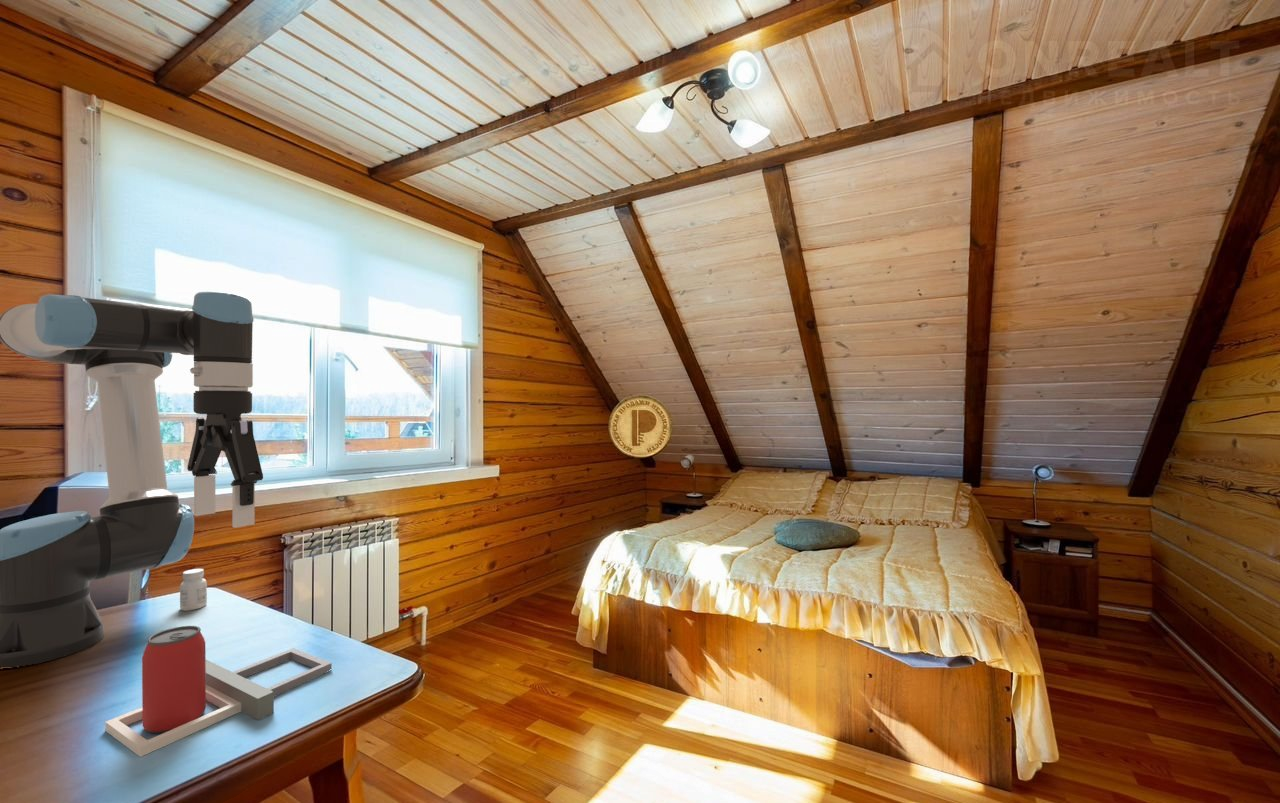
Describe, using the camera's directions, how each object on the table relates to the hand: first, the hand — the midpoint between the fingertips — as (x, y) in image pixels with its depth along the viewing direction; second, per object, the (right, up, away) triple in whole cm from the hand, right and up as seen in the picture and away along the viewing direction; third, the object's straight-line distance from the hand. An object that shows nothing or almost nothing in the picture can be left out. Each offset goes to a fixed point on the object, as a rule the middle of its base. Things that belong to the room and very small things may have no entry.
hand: (223, 520), depth 87 cm
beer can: (+4, -25, -13) cm, 28 cm away
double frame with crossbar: (+7, -25, -8) cm, 27 cm away
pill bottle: (-28, -25, +27) cm, 46 cm away
